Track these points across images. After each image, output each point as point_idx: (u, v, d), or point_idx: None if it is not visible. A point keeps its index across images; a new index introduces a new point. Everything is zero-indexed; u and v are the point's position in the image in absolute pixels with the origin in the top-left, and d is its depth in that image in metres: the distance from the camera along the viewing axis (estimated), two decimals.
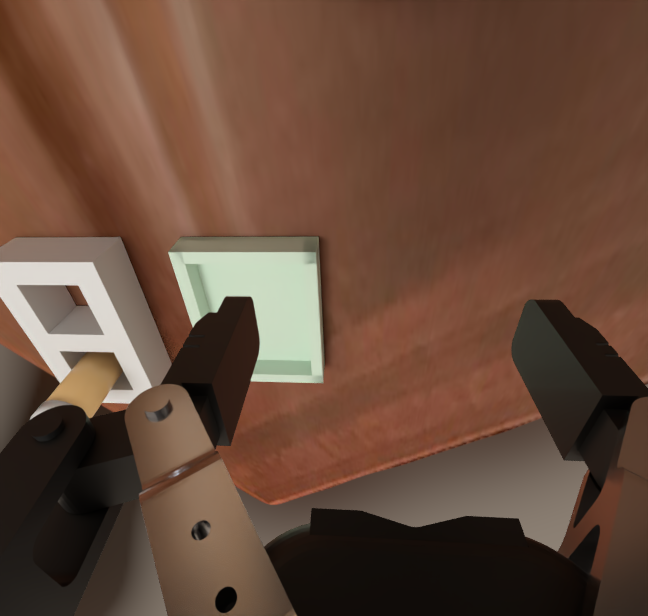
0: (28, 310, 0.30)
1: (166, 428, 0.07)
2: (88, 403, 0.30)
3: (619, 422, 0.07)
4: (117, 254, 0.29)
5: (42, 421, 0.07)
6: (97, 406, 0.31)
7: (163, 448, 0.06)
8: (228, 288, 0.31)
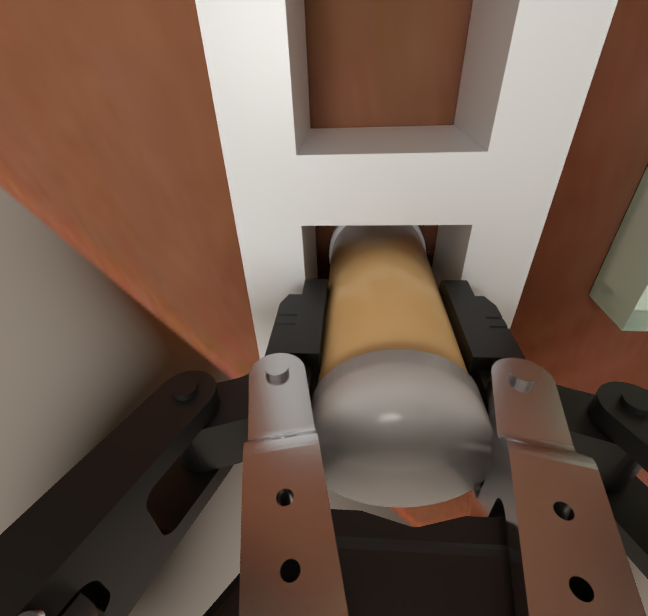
0: (272, 38, 0.08)
1: (280, 393, 0.07)
2: None
3: (487, 380, 0.08)
4: None
5: (181, 381, 0.08)
6: None
7: (295, 406, 0.07)
8: None
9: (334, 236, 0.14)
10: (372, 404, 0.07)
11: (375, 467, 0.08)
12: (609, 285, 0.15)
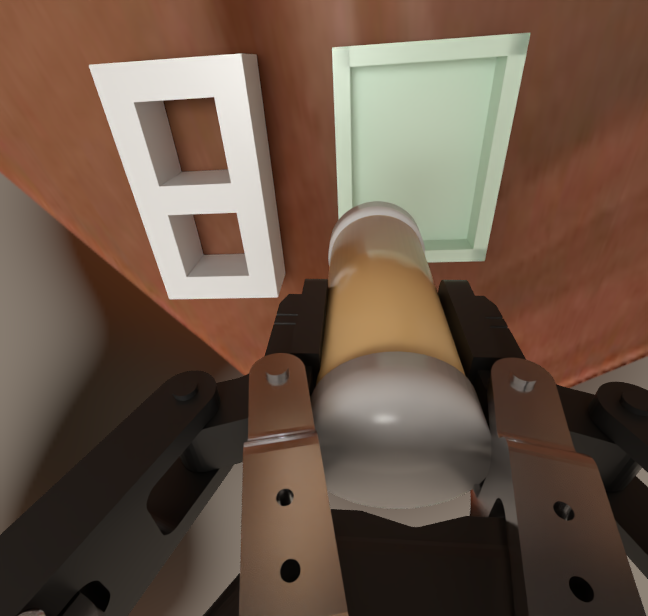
0: (141, 146, 0.24)
1: (280, 393, 0.07)
2: None
3: (487, 380, 0.08)
4: (254, 71, 0.23)
5: (182, 381, 0.08)
6: None
7: (296, 406, 0.07)
8: (382, 126, 0.25)
9: (333, 238, 0.14)
10: (369, 406, 0.07)
11: (372, 469, 0.08)
12: None
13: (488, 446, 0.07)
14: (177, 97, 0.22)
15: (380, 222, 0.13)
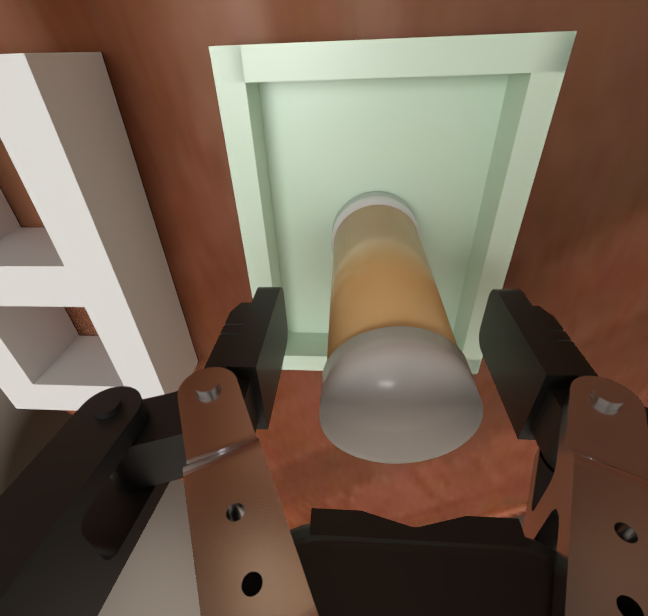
0: None
1: (214, 409, 0.07)
2: None
3: (561, 399, 0.08)
4: (92, 82, 0.13)
5: (102, 399, 0.07)
6: None
7: (219, 425, 0.07)
8: (320, 175, 0.15)
9: (336, 226, 0.15)
10: (377, 372, 0.08)
11: (378, 427, 0.09)
12: None
13: (477, 404, 0.08)
14: None
15: (380, 211, 0.14)
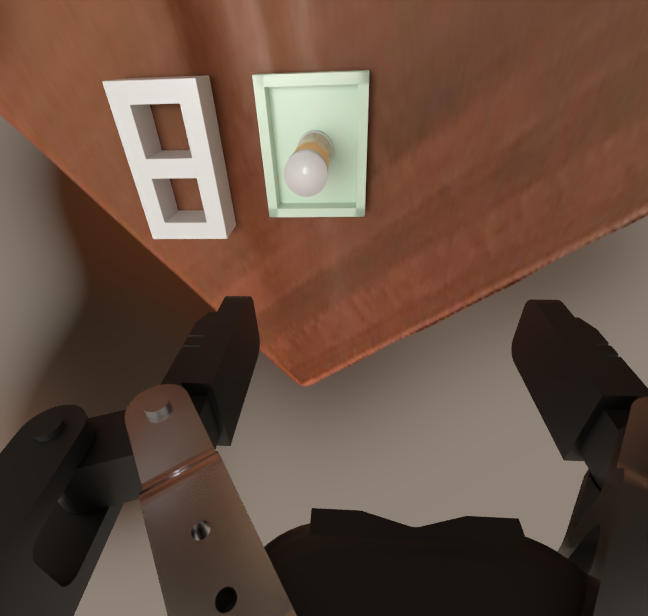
0: (134, 132, 0.37)
1: (167, 428, 0.07)
2: (326, 162, 0.33)
3: (619, 422, 0.07)
4: (207, 87, 0.37)
5: (42, 421, 0.07)
6: None
7: (163, 448, 0.06)
8: (292, 123, 0.39)
9: (298, 143, 0.39)
10: (297, 155, 0.31)
11: (300, 178, 0.32)
12: None
13: (324, 167, 0.31)
14: (157, 102, 0.35)
15: (313, 134, 0.37)
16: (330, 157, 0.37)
